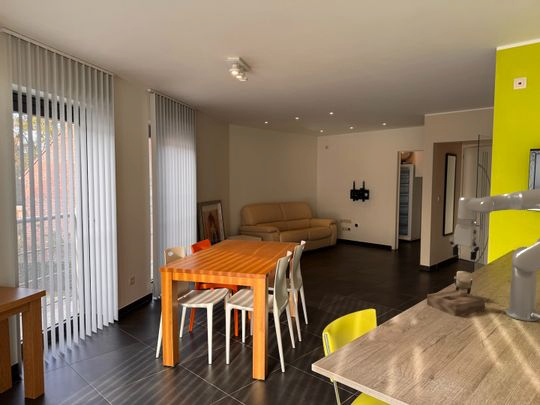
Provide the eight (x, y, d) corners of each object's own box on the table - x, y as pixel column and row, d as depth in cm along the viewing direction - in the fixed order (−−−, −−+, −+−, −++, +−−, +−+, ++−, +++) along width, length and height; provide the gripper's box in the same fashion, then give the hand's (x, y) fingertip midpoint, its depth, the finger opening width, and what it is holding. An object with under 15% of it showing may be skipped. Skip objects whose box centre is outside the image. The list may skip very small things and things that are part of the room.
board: (484, 309, 174) (485, 299, 174) (454, 315, 166) (455, 305, 165) (455, 299, 188) (455, 289, 188) (426, 304, 180) (427, 294, 180)
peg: (473, 296, 177) (474, 273, 176) (464, 298, 175) (465, 275, 174) (461, 293, 183) (462, 270, 182) (452, 294, 180) (453, 271, 180)
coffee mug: (470, 301, 186) (471, 281, 186) (451, 297, 192) (452, 278, 191) (473, 295, 196) (474, 276, 195) (456, 292, 201) (456, 274, 200)
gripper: (488, 224, 170) (486, 261, 171) (456, 220, 186) (454, 253, 187) (477, 225, 167) (475, 262, 168) (445, 220, 183) (443, 254, 184)
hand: (464, 257), depth 178 cm, fingers open, 9 cm apart
